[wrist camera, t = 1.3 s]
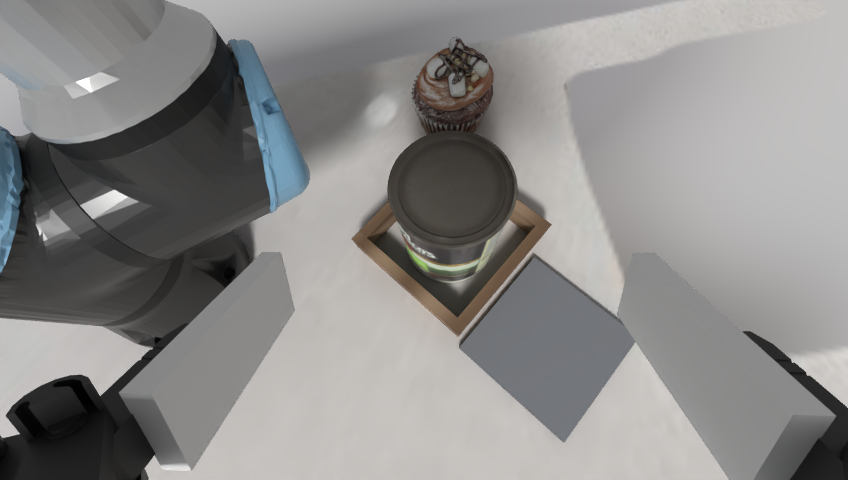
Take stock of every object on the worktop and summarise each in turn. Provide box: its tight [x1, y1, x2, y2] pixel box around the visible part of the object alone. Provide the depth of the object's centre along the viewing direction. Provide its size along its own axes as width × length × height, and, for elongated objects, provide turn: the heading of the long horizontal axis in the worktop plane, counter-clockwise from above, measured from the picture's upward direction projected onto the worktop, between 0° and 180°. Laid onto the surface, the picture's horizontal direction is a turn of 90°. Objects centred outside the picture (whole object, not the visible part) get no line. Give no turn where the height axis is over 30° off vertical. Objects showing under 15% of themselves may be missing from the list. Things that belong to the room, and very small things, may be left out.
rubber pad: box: [459, 257, 635, 442], centre depth 37 cm, size 13×13×1 cm
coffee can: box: [388, 131, 518, 283], centre depth 35 cm, size 10×10×14 cm
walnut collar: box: [352, 200, 552, 336], centre depth 40 cm, size 15×15×3 cm
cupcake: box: [411, 37, 493, 135], centre depth 42 cm, size 10×10×10 cm
